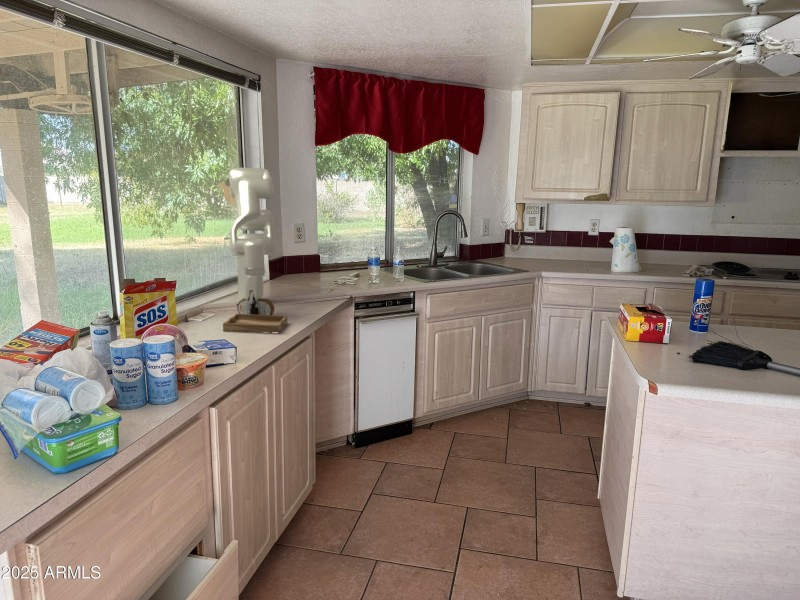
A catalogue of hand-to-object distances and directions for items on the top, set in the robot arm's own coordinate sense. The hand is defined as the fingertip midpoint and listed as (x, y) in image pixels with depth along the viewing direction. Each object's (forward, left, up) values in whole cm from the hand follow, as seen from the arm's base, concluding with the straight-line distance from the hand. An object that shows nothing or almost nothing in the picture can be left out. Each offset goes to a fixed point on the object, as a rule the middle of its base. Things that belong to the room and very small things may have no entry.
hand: (255, 315), depth 221 cm
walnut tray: (+13, +4, -1) cm, 13 cm away
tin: (0, 0, -1) cm, 1 cm away
